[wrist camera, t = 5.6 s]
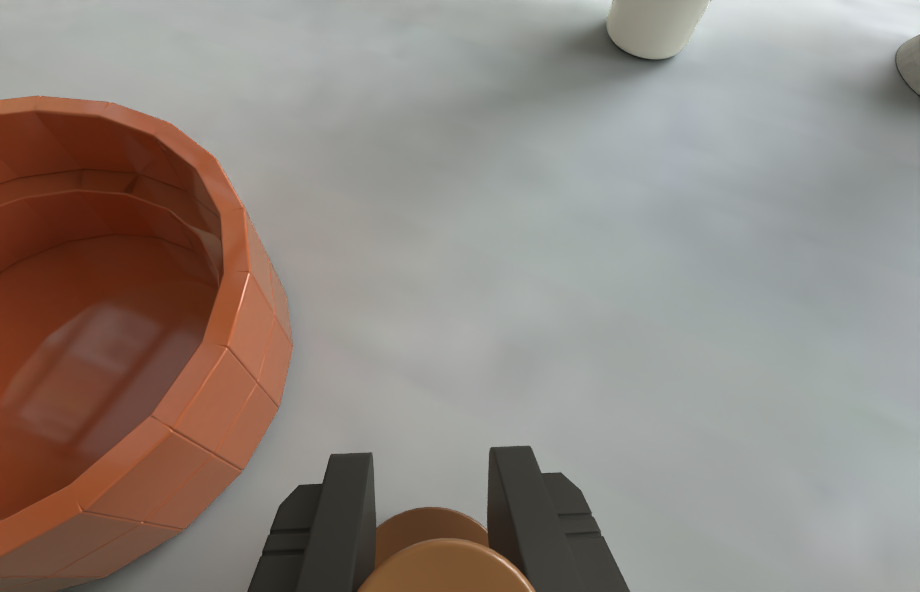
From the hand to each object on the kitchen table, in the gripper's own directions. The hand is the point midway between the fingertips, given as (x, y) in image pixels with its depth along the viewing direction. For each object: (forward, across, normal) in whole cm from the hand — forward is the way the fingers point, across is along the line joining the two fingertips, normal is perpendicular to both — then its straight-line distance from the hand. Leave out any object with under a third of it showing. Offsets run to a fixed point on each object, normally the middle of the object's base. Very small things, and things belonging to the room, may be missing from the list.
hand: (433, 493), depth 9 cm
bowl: (+12, -13, -2) cm, 18 cm away
